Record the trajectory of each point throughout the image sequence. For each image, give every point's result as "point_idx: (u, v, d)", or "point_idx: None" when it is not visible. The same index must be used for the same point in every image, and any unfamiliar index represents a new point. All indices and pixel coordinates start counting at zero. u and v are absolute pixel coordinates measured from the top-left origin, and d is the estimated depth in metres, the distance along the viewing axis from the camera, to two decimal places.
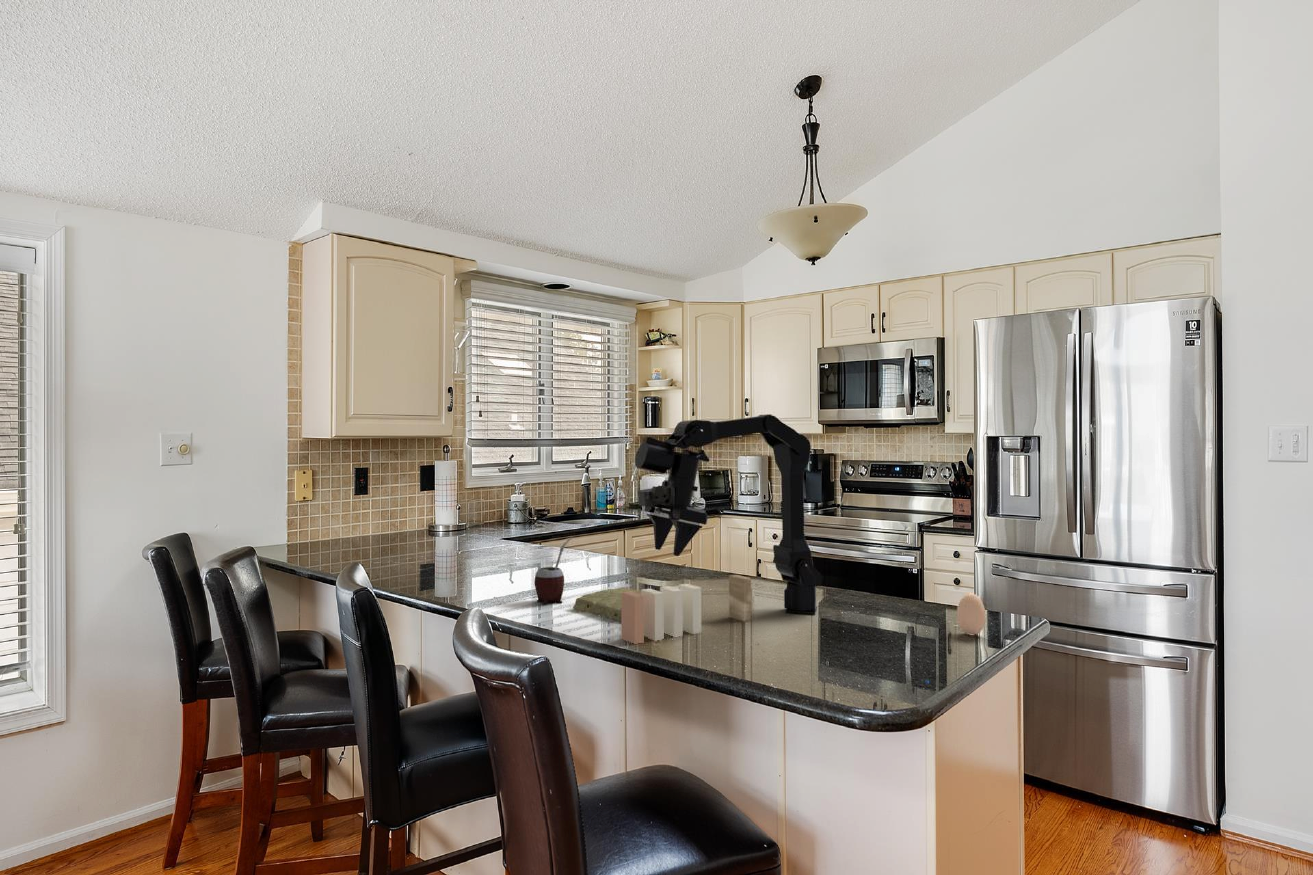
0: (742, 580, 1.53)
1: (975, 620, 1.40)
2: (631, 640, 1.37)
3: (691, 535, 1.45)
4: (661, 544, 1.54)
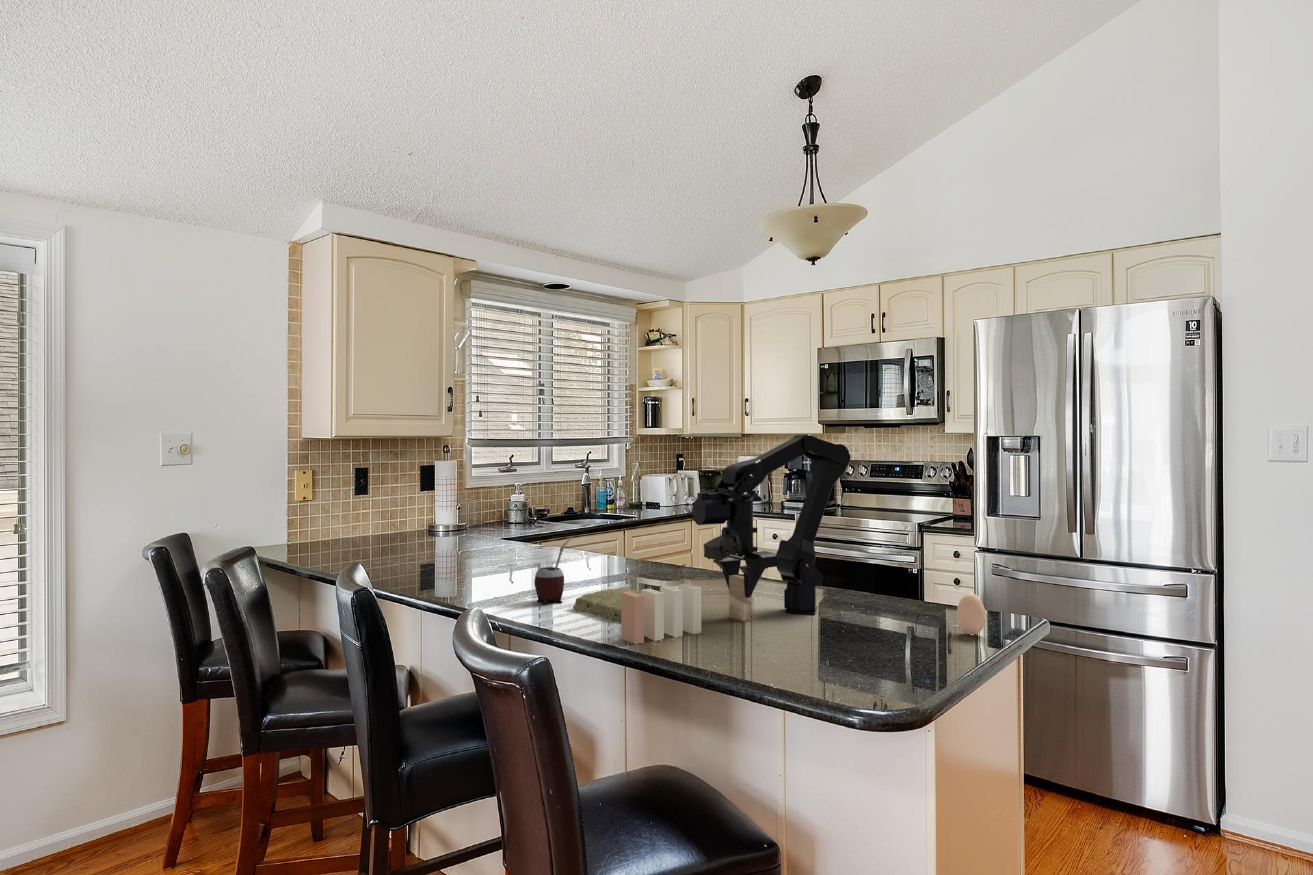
0: (742, 580, 1.53)
1: (975, 620, 1.40)
2: (631, 640, 1.37)
3: (758, 576, 1.53)
4: None
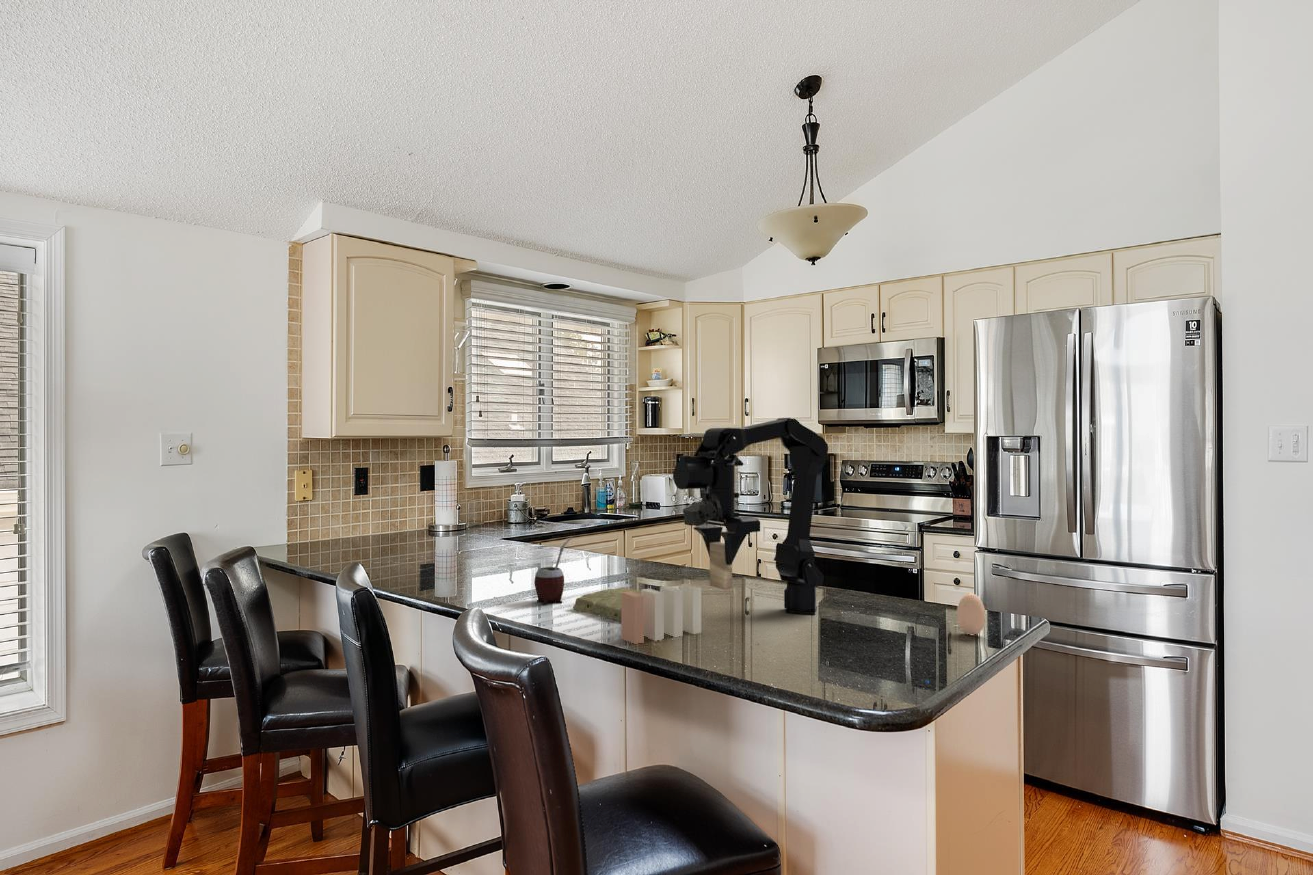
0: (723, 546, 1.48)
1: (975, 620, 1.40)
2: (631, 640, 1.37)
3: (740, 542, 1.48)
4: None
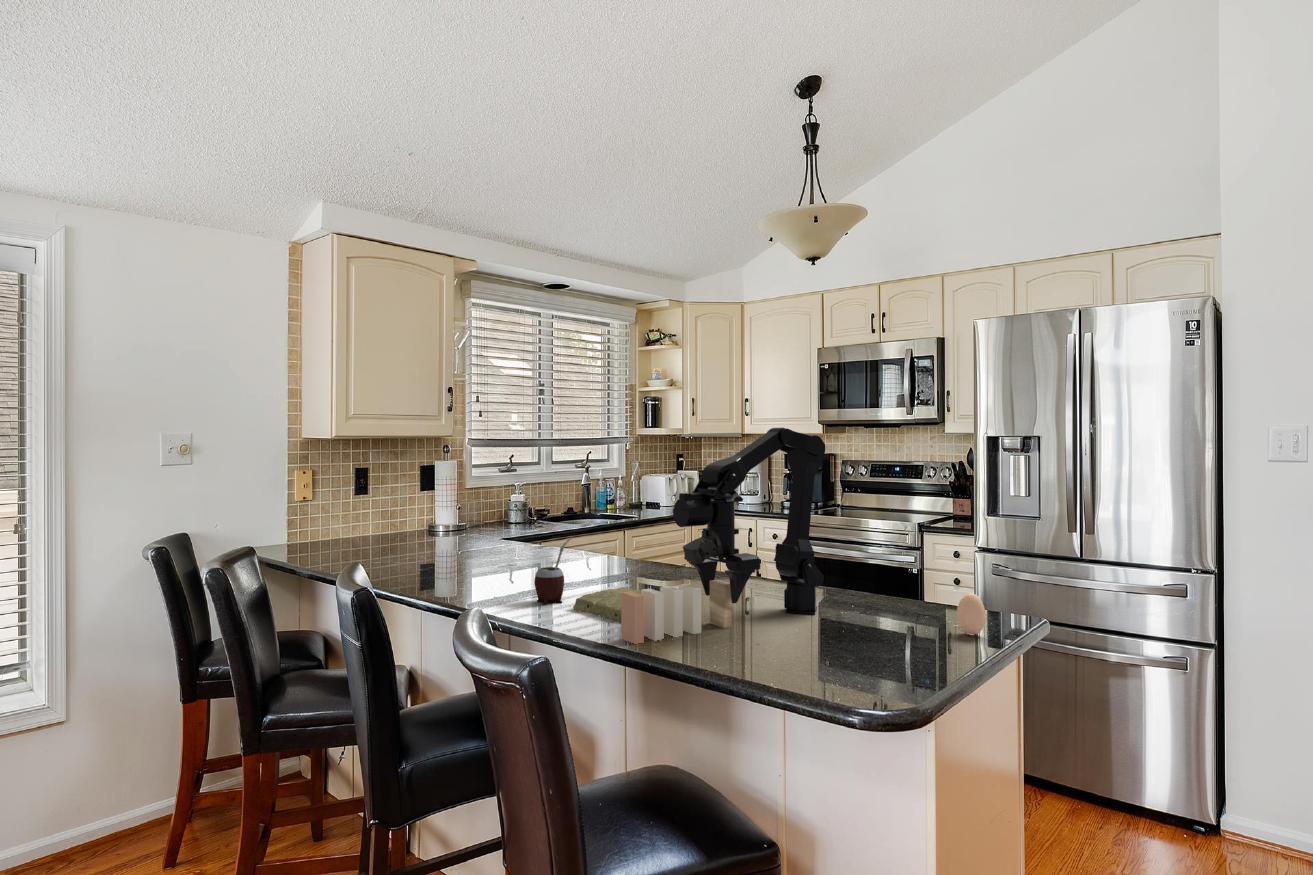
0: (723, 585, 1.48)
1: (975, 620, 1.40)
2: (631, 640, 1.37)
3: (745, 580, 1.46)
4: None
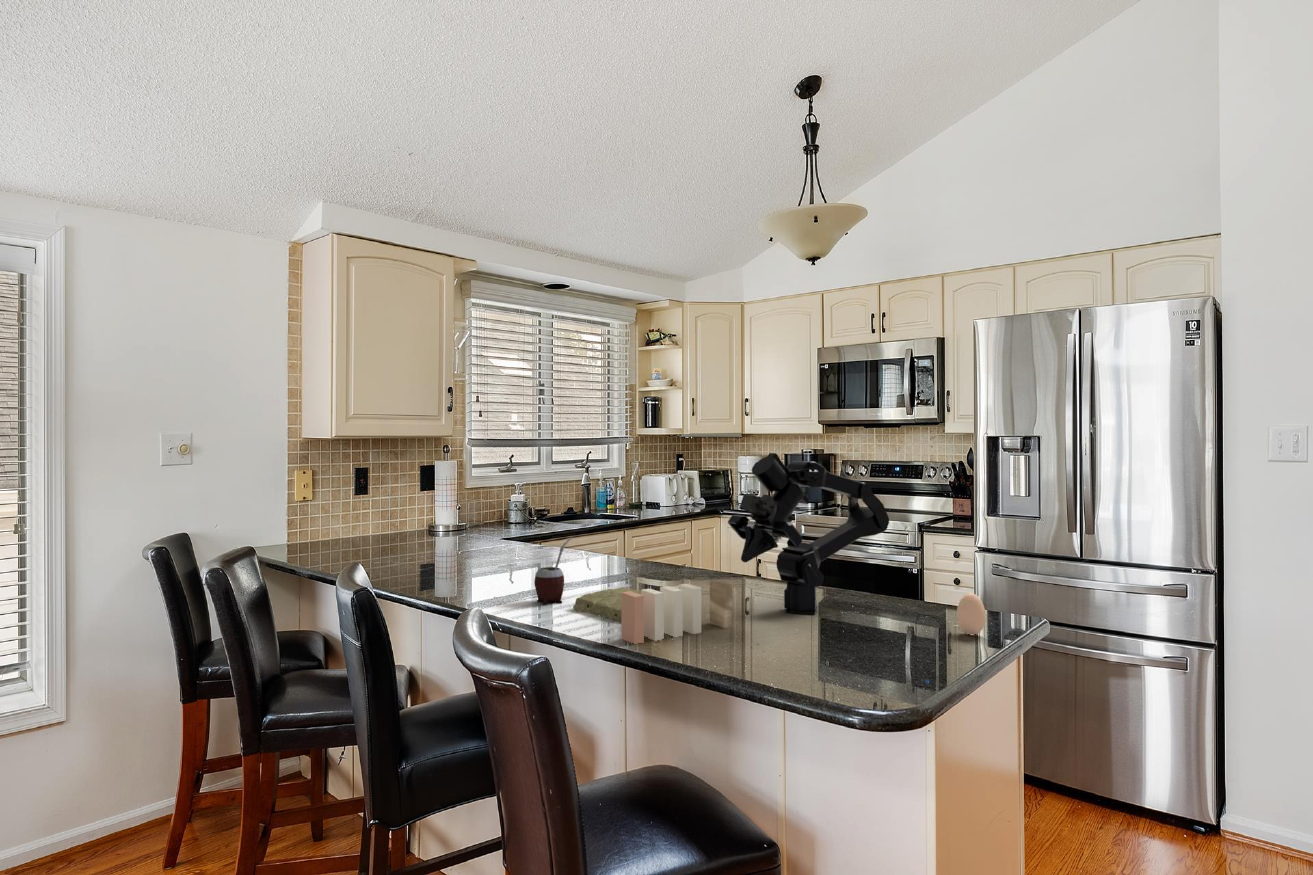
0: (723, 585, 1.48)
1: (975, 620, 1.40)
2: (631, 640, 1.37)
3: (764, 550, 1.54)
4: None
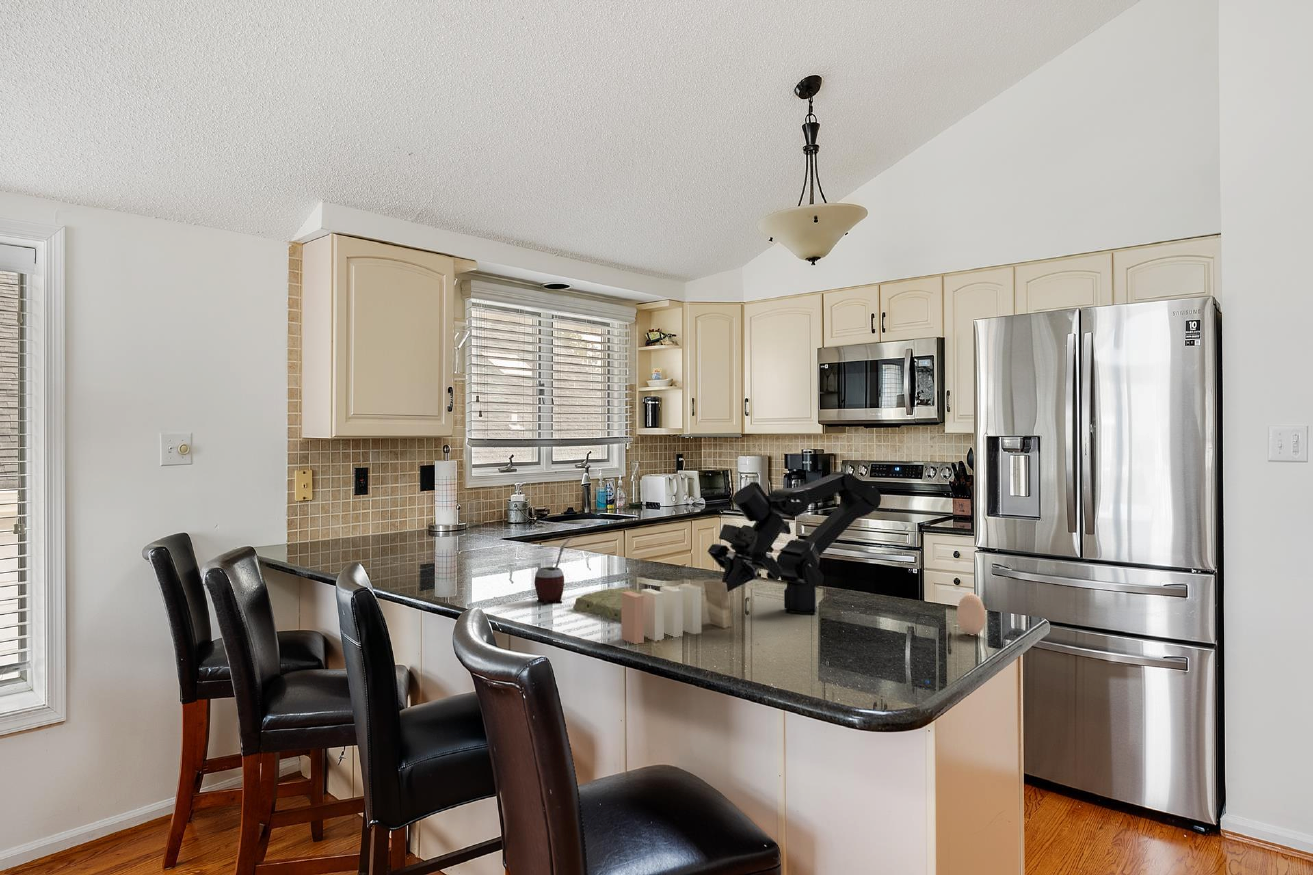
0: (717, 587, 1.47)
1: (975, 620, 1.40)
2: (631, 640, 1.37)
3: (743, 581, 1.51)
4: None
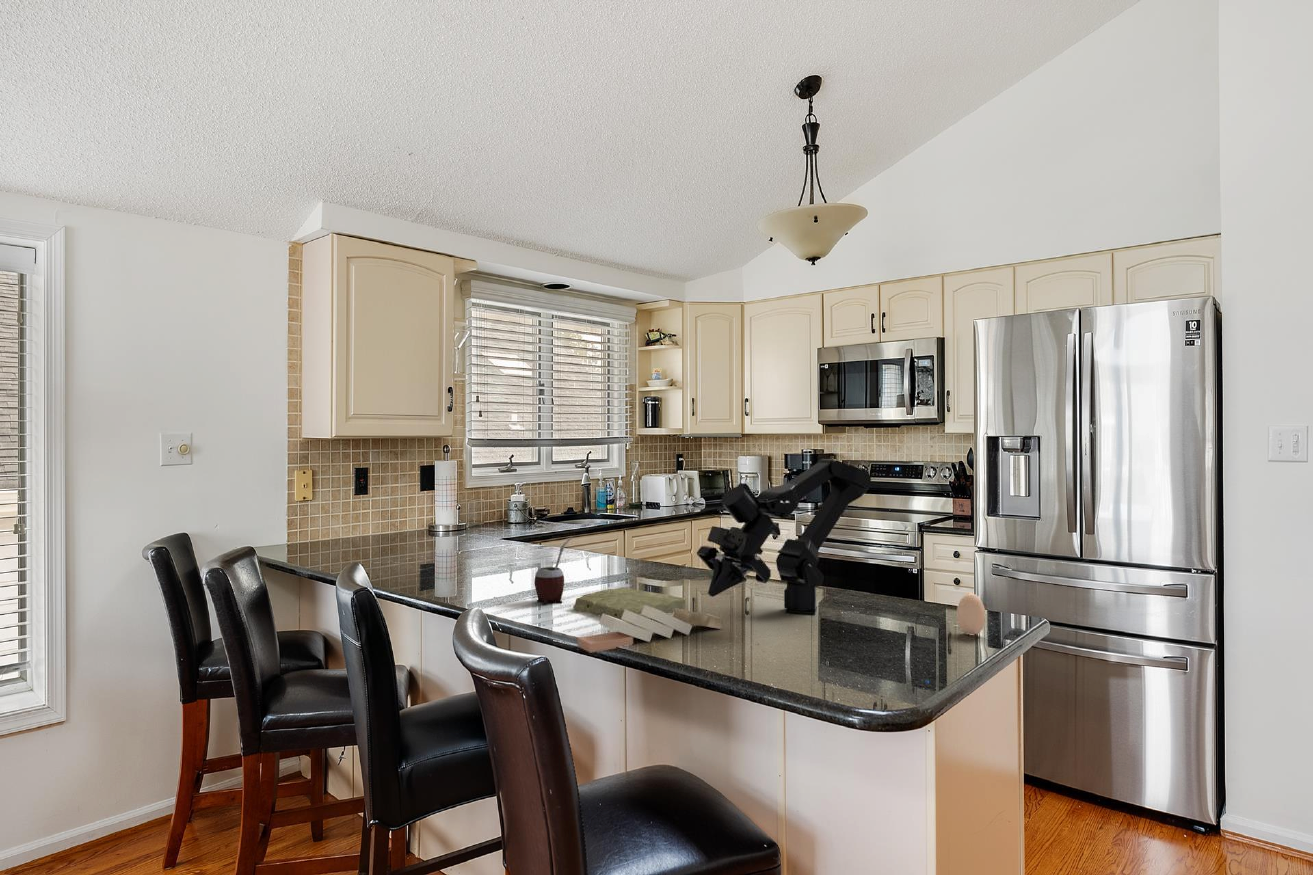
0: (687, 622, 1.43)
1: (975, 620, 1.40)
2: None
3: (732, 584, 1.49)
4: None
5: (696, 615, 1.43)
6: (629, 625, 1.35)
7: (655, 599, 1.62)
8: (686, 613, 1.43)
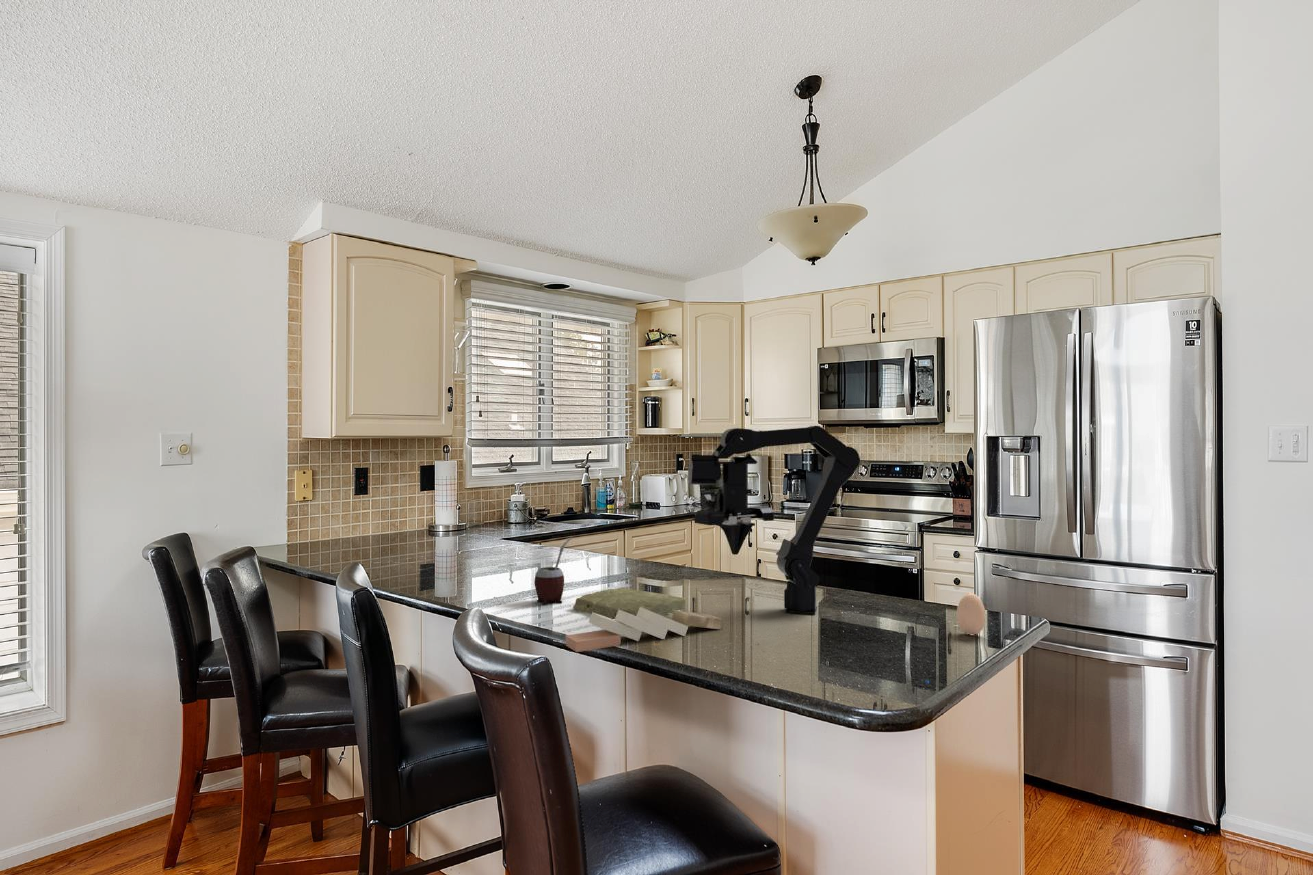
0: (685, 624, 1.43)
1: (975, 620, 1.40)
2: None
3: (733, 535, 1.59)
4: None
5: (694, 617, 1.43)
6: (616, 623, 1.36)
7: (655, 599, 1.62)
8: (684, 615, 1.43)
